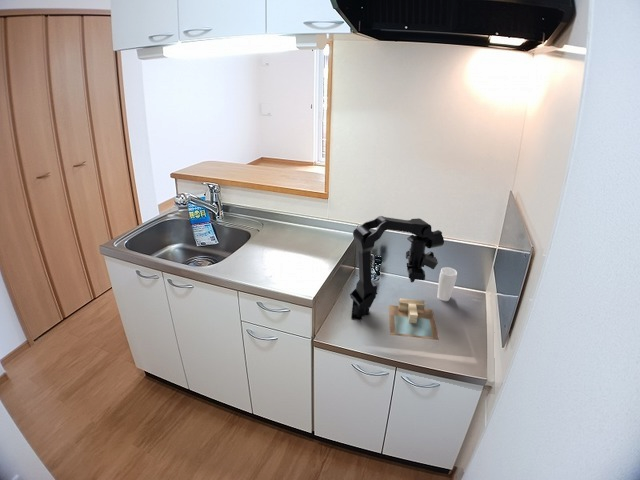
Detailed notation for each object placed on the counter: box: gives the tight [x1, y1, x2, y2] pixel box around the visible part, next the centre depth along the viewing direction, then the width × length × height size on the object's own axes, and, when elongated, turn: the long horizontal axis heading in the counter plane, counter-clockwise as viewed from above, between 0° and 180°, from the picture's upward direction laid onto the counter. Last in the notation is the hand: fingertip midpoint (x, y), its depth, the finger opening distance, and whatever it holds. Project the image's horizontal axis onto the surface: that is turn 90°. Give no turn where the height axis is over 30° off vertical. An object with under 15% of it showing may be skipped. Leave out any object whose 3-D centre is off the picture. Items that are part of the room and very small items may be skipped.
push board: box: [388, 304, 440, 341], centre depth 143 cm, size 18×18×2 cm
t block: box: [397, 297, 426, 323], centre depth 146 cm, size 10×10×4 cm
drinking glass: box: [436, 266, 458, 302], centre depth 155 cm, size 7×7×15 cm
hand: (412, 281), depth 152 cm, fingers closed
